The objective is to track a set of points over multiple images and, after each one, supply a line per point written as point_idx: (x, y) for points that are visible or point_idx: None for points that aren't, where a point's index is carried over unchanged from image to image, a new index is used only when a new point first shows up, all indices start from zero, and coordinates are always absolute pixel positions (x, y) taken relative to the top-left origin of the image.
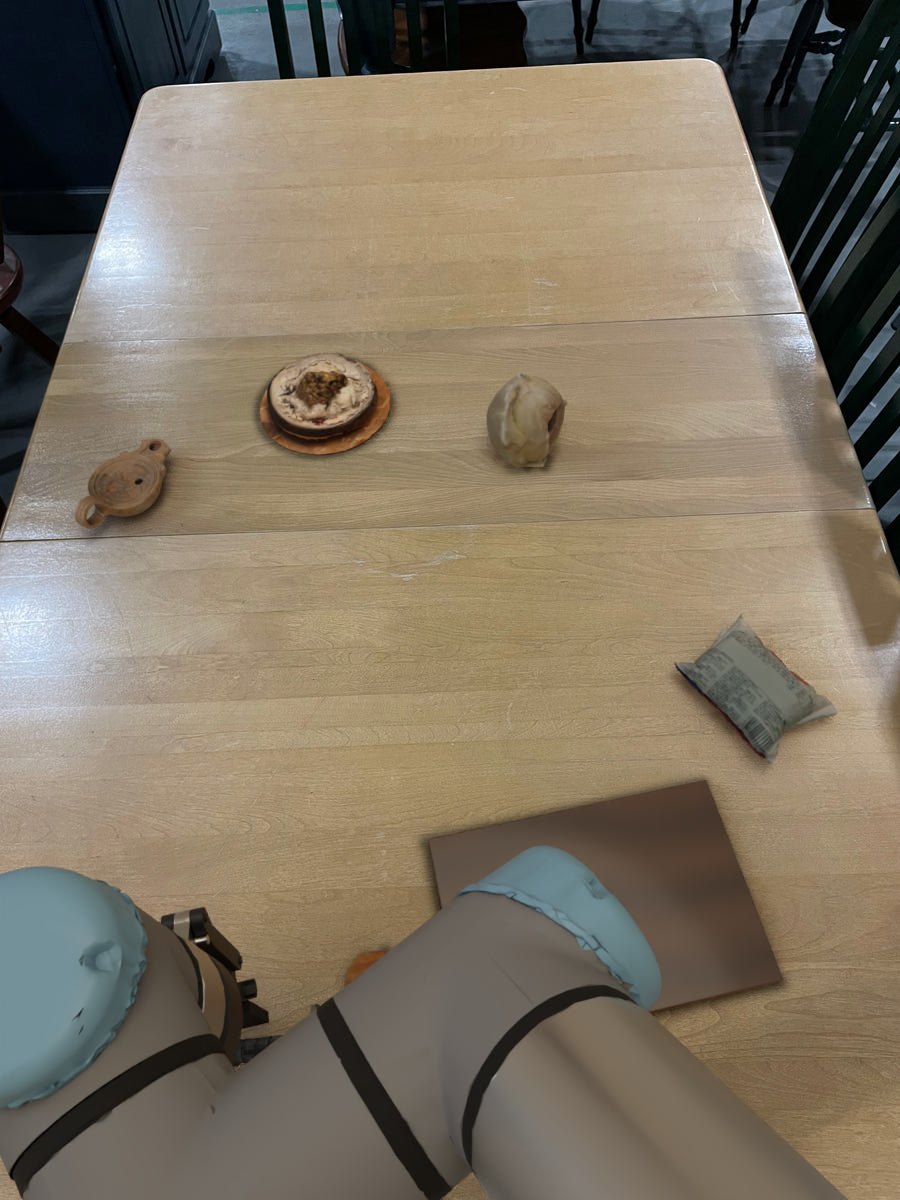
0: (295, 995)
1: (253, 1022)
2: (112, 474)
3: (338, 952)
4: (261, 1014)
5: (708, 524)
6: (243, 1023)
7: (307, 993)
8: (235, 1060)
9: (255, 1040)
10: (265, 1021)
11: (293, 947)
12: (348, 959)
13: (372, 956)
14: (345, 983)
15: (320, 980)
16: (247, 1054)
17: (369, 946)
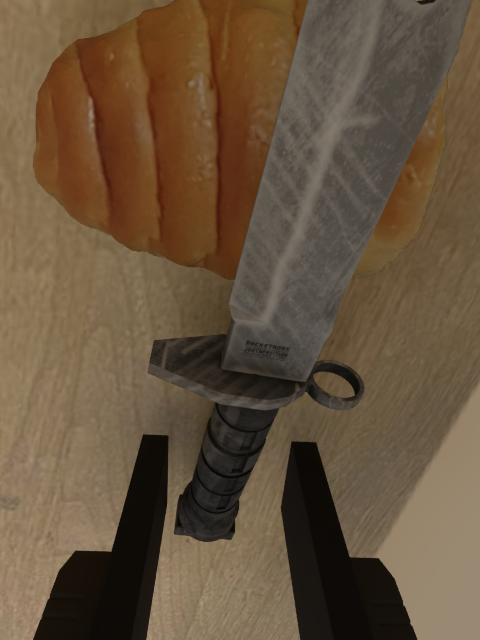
0: (123, 345)
1: (159, 505)
2: None
3: (38, 229)
4: (143, 508)
5: None
6: (156, 538)
7: (124, 319)
8: (229, 515)
9: (201, 487)
10: (164, 462)
11: (14, 332)
12: (60, 207)
13: (45, 133)
14: (114, 235)
15: (100, 286)
16: (226, 503)
17: (32, 139)
